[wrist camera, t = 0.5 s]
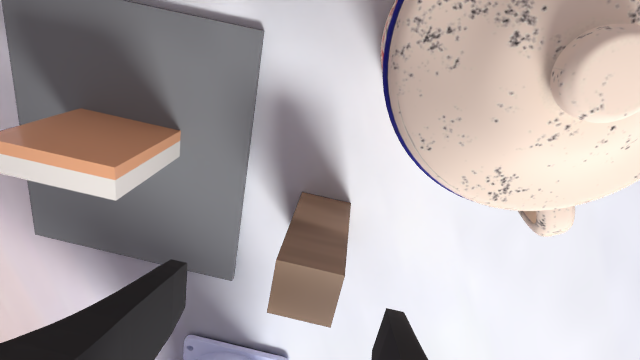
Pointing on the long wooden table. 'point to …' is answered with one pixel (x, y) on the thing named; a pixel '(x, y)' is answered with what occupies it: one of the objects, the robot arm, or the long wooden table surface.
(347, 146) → the long wooden table surface
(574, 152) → the teacup with lid
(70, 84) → the mat
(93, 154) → the tile
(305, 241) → the tan wooden brick
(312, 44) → the long wooden table surface
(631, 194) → the long wooden table surface
